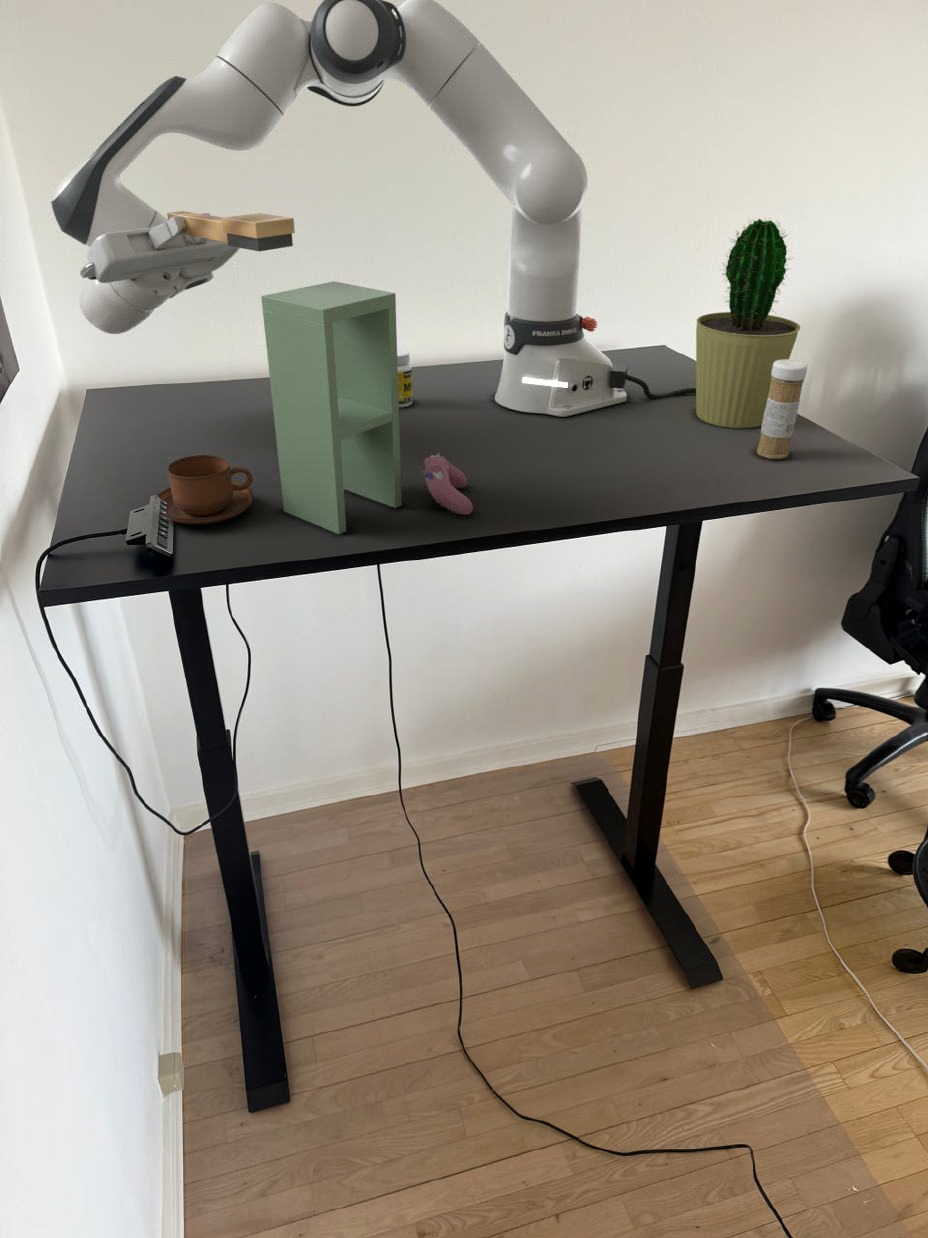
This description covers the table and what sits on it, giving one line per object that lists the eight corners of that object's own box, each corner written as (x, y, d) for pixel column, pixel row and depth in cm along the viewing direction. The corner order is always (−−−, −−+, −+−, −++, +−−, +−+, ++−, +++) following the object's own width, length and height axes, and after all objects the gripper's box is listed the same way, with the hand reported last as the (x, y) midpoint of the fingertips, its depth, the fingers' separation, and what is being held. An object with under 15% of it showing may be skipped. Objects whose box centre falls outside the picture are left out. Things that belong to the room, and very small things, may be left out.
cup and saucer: (225, 485, 118) (219, 441, 115) (272, 514, 111) (267, 468, 108) (139, 509, 112) (130, 463, 108) (183, 542, 104) (174, 493, 101)
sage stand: (283, 511, 112) (260, 295, 98) (347, 485, 119) (333, 280, 105) (339, 534, 106) (323, 309, 93) (402, 505, 114) (395, 292, 100)
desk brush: (158, 233, 110) (154, 206, 108) (196, 228, 113) (192, 202, 112) (258, 252, 99) (255, 222, 98) (296, 245, 103) (293, 217, 101)
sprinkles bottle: (773, 447, 132) (791, 356, 125) (795, 457, 129) (815, 365, 122) (749, 452, 131) (766, 360, 124) (770, 462, 127) (789, 368, 120)
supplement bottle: (408, 409, 146) (407, 357, 142) (380, 407, 147) (378, 355, 142) (415, 400, 150) (414, 349, 146) (388, 398, 151) (386, 348, 146)
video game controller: (438, 497, 120) (414, 453, 116) (469, 482, 119) (445, 437, 115) (443, 529, 111) (417, 483, 108) (476, 513, 110) (451, 466, 107)
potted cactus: (801, 426, 140) (846, 220, 125) (718, 437, 136) (753, 224, 120) (743, 397, 153) (777, 206, 137) (665, 406, 148) (691, 210, 133)
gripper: (63, 254, 111) (105, 202, 101) (200, 235, 125) (249, 188, 115) (86, 303, 112) (130, 257, 102) (219, 279, 126) (269, 236, 116)
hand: (194, 220), depth 109 cm, fingers closed on desk brush, 2 cm apart
